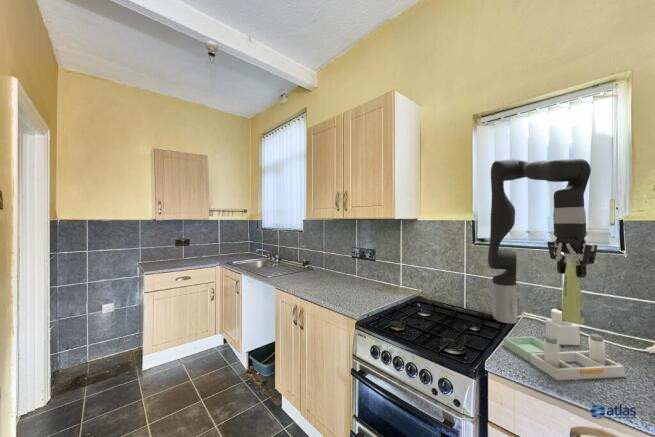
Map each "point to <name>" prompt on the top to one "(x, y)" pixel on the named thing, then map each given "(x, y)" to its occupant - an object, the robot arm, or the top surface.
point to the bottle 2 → (597, 349)
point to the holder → (571, 373)
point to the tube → (572, 296)
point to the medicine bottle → (562, 329)
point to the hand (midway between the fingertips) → (571, 275)
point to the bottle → (551, 351)
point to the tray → (524, 346)
